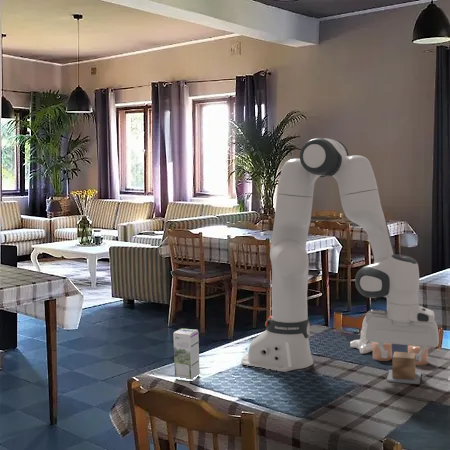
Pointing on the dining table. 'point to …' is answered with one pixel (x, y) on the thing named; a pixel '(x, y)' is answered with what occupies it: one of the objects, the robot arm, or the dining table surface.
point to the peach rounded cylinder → (417, 350)
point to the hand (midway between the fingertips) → (401, 359)
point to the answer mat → (415, 381)
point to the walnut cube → (403, 365)
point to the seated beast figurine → (362, 341)
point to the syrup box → (186, 353)
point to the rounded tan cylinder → (378, 354)
